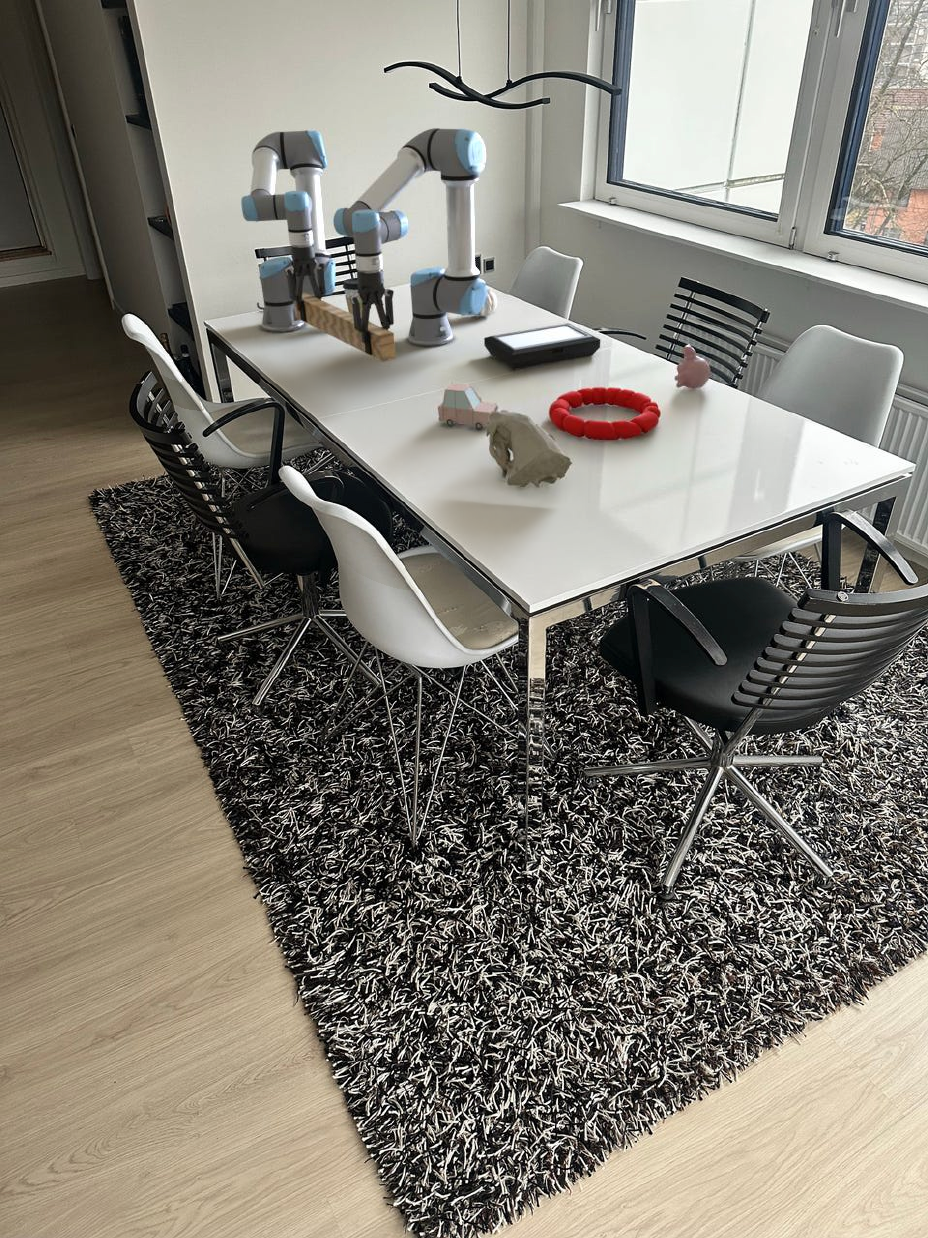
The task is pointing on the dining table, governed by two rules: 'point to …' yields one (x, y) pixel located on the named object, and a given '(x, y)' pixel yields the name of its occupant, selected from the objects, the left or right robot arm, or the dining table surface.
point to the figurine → (692, 370)
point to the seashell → (488, 304)
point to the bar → (346, 327)
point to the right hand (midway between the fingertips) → (376, 351)
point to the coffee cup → (351, 293)
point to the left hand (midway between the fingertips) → (310, 319)
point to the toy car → (465, 406)
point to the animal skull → (525, 450)
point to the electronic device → (542, 345)
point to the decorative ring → (604, 428)
